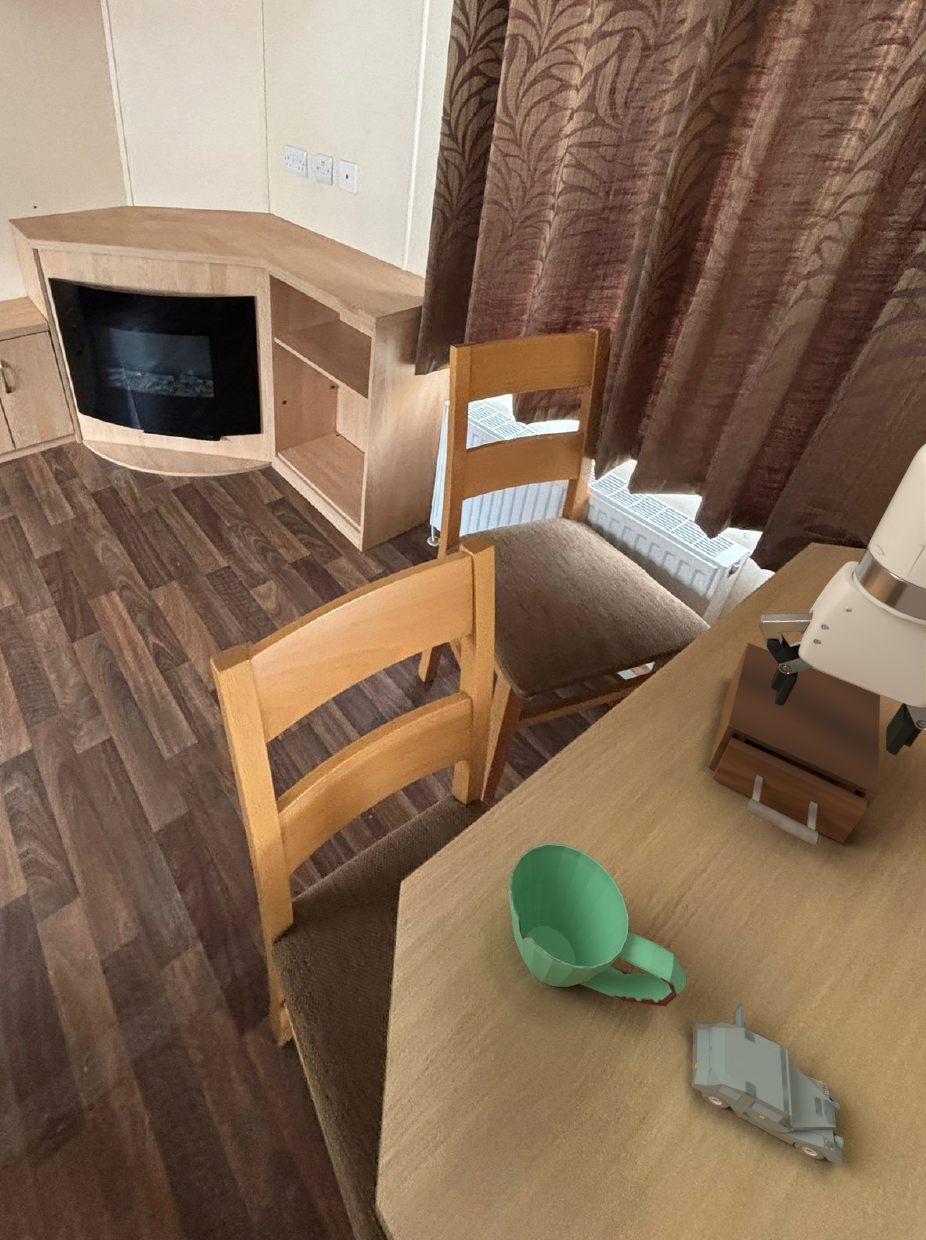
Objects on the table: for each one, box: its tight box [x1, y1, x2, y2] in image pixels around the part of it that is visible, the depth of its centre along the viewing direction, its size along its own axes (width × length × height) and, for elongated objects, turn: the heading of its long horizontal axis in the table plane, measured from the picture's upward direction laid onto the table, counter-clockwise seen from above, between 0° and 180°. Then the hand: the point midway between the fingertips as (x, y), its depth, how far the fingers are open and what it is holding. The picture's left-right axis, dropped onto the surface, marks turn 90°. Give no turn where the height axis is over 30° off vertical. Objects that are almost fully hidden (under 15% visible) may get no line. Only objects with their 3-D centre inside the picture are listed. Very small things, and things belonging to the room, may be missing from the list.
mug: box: [507, 842, 687, 1008], centre depth 60 cm, size 15×10×10 cm
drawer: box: [712, 733, 868, 846], centre depth 76 cm, size 18×12×6 cm
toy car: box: [691, 1002, 845, 1167], centre depth 54 cm, size 6×10×5 cm, turn 64°
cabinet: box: [707, 642, 881, 838], centre depth 79 cm, size 15×14×8 cm
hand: (833, 717), depth 64 cm, fingers open, 8 cm apart
